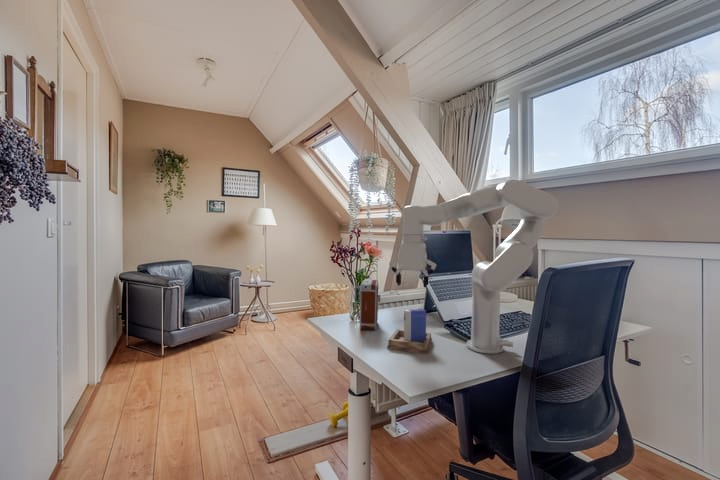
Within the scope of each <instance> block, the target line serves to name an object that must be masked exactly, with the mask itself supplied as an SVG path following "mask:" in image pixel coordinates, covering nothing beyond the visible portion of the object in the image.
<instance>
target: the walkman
mask: <svg viewBox="0 0 720 480" xmlns="http://www.w3.org/2000/svg"><path fill="white" fill-rule="evenodd" d="M403 330H404V341H411V342H424V340H425V338H426V333H427V310H425V309H422V308H418V309H404V310H403Z"/></svg>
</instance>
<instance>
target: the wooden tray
mask: <svg viewBox="0 0 720 480" xmlns="http://www.w3.org/2000/svg"><path fill="white" fill-rule="evenodd" d="M432 343H433V338H432V332H426V338H425V340H424V342H411V341H404V329H399V328H397V329H396V330H395V331H394V332H393V333H392V334H391V336H390V337H389V338H388V344H387V345H386V346H387V347H386V348H387V349H388V350H394V351H401V352H410V353H417V354H424V355H427V354H428V351H429V350H430V347H431V344H432Z"/></svg>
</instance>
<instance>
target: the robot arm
mask: <svg viewBox="0 0 720 480" xmlns="http://www.w3.org/2000/svg"><path fill="white" fill-rule="evenodd" d="M508 206H514V207H515V208H518V209H519V215H520V221H519V224H518V225H517V227H516V228H515V229H514V231H513V232H512V233H511V234H509V235H508V236H507V238H505V239H504V240H503V241H502V242H501V243H500V244H499V245H498V246H497V247H496V249H495V251H494V258H495V259H494V260H493V261H492V262H491V261H488V260H487V261H480V262H478V263H476V264H475V265H474V267H473V268H472V271H471V275H470V276H471V277H470V278H471V288H472V289H471V290H472V291H471V292H472V297H471V298H472V302H471V303H472V304H471V332H470V339H468V340H467V341H466V347H467V348H468V349H470V350H471V351H474V352H477V353H482V354H489V355H490V354H491V355H495V354H500V353H502V352H504V347H508V348H509V347H510V348H514V341H511V340H509V339H503V338H502V337H500V315H501V313H500V312H501V292H503V291H505V290H506V289H508V288H509V287H510V286H511V285H513V283H515V281H517V279H518V278H520V276H521V275H522V274H524V273H525V272H526V271H527V270H528V268H529V267H530V266H531V264H532V262H533V261H534V251H533V248H534V247H535V246H536V245H537V244H538V243H539V241H540V240H541V239H542V237H543V235H544V232H545V220H547V219H551V218H553V217H554V216H555V215H556V213H557V212H558V211H559V202H558V200H557V198H556V197H555V196H553V194H551V193H548V192H546V191H544V190H541V189H539V188H537V187H536V186H532V185H530V184H529V183H527V182H523V181H522V180H518V179H514V178H513V179H508V180H505V181H502V182H500V183H495V184H493V185H489V186H487V187H484V188H480V189H476V190H474V191H471V192H470V191H469V192H467V193H464V194H462V195H459V196H458V197H456V198H453V199H450V200H448V201H445V202H441V203H438V204H433V205H432V204H431V205H425V206H424V205H422V206H420V205H406V206H404V207H403V209H402V242H401V243H400V246H399V251H398V257H397V258H396V259H393V260H391V261H389V266H390V269H391V270H392V272H393V273H394V274H395V283H396V285H397V286H399V287H400V286H401V285H402V274H401V273H402V272H403V271H415V272H422V273H423V275H424V276H423V288H427V286H429V277H430V275H431V274H432V273H434V271H435V269H436V267H437V264H436V263H435V262H433V261H431V260H430V259H428V256H427V246H426V243H424V242H425V241H428V236H426V235H424V226H430V227H438V226H441V225H443V224H444V223H447V222H451V221H454V220H458V219H462V218H468V217H469V218H470V217H475V216H478V215H482V214H484V213H487V212H491V211H494V210H497V209H501V208H504V207H508ZM395 264H398V265H397V267H398V268H396V265H395ZM428 265H429V266H431V268H429V270H428V269H427V268H428Z"/></svg>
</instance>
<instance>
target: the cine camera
mask: <svg viewBox="0 0 720 480" xmlns="http://www.w3.org/2000/svg"><path fill="white" fill-rule="evenodd" d="M379 288H380V287H379V280H378V279H377V280H376V279H373V278H365V279H363V280H362V282H361V284H360V290H359V329H360V330H363V331H364V330H365V331H375V330H377V326H378V318H379V317H378V314H379V304H380V303H381V294H379Z"/></svg>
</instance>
